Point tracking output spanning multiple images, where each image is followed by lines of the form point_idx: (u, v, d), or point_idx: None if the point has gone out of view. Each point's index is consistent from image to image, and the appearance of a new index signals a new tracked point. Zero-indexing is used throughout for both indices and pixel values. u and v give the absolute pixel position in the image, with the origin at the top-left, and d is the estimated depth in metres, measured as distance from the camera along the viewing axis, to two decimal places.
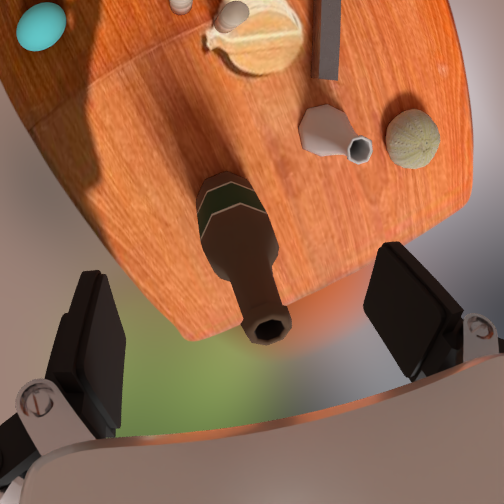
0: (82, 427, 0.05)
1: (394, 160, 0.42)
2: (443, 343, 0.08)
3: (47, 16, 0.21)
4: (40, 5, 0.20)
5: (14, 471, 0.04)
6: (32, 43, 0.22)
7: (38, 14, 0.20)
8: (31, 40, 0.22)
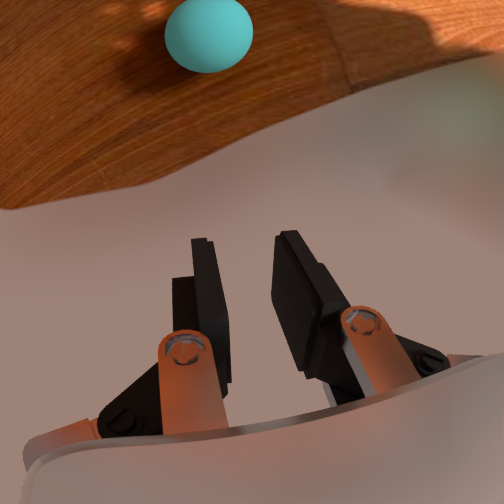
0: (217, 392, 0.06)
1: None
2: (321, 336, 0.08)
3: (204, 3, 0.15)
4: (174, 22, 0.16)
5: (158, 428, 0.06)
6: (245, 31, 0.17)
7: (195, 17, 0.15)
8: (241, 31, 0.17)
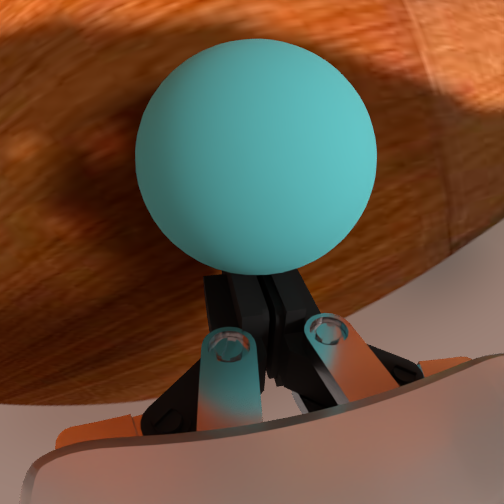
0: (256, 392, 0.06)
1: None
2: (285, 344, 0.08)
3: (246, 42, 0.06)
4: (164, 102, 0.06)
5: None
6: None
7: (232, 65, 0.05)
8: (367, 116, 0.06)
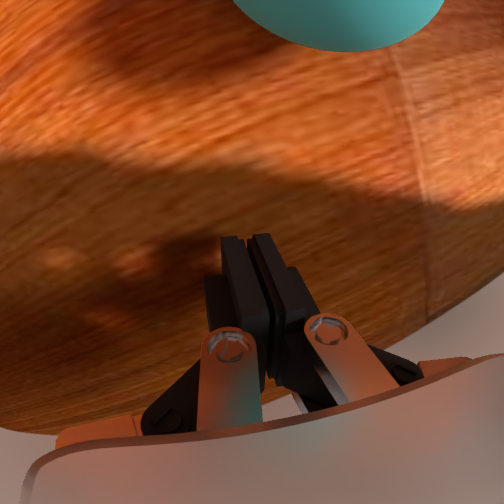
0: (256, 392, 0.06)
1: None
2: (285, 344, 0.08)
3: (318, 42, 0.06)
4: None
5: None
6: None
7: (278, 35, 0.07)
8: None
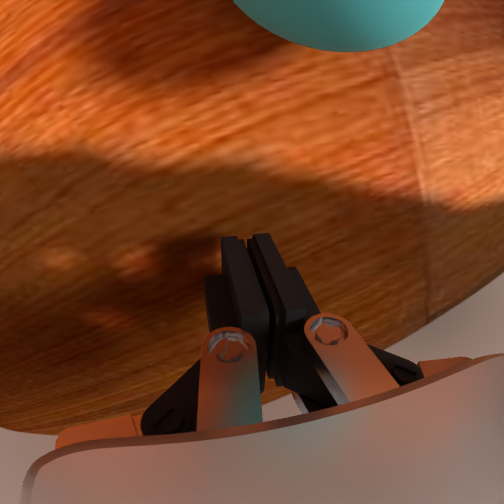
0: (256, 392, 0.06)
1: None
2: (285, 344, 0.08)
3: (318, 42, 0.06)
4: None
5: None
6: None
7: (278, 35, 0.07)
8: None
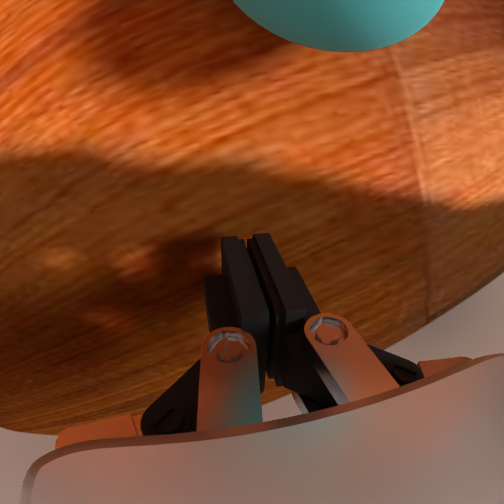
0: (256, 392, 0.06)
1: None
2: (285, 344, 0.08)
3: (318, 42, 0.06)
4: None
5: None
6: None
7: (278, 35, 0.07)
8: None
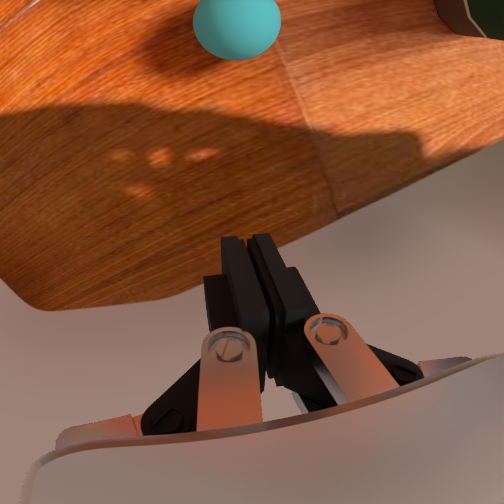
0: (256, 392, 0.06)
1: None
2: (285, 344, 0.08)
3: (228, 58, 0.19)
4: (201, 44, 0.18)
5: None
6: None
7: (217, 56, 0.19)
8: None
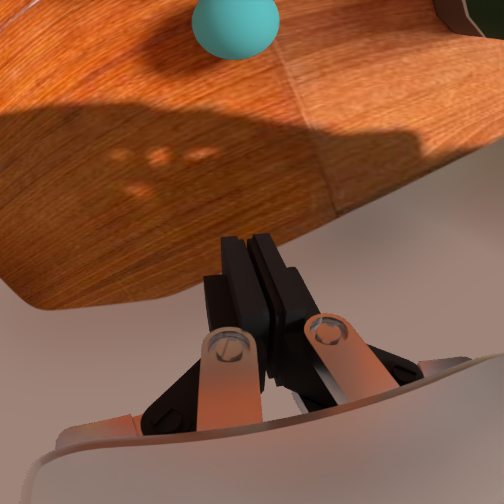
0: (256, 392, 0.06)
1: None
2: (285, 344, 0.08)
3: (227, 57, 0.19)
4: (200, 44, 0.18)
5: None
6: None
7: None
8: None
